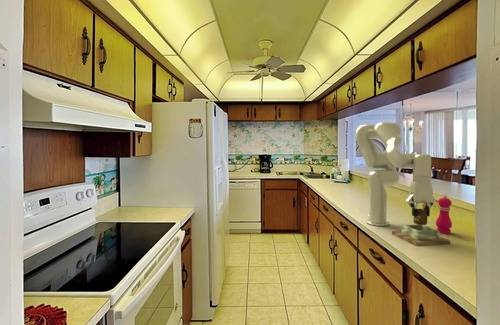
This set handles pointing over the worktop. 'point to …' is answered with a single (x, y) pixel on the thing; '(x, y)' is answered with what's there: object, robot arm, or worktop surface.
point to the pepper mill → (444, 216)
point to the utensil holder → (421, 216)
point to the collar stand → (420, 235)
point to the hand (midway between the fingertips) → (420, 215)
